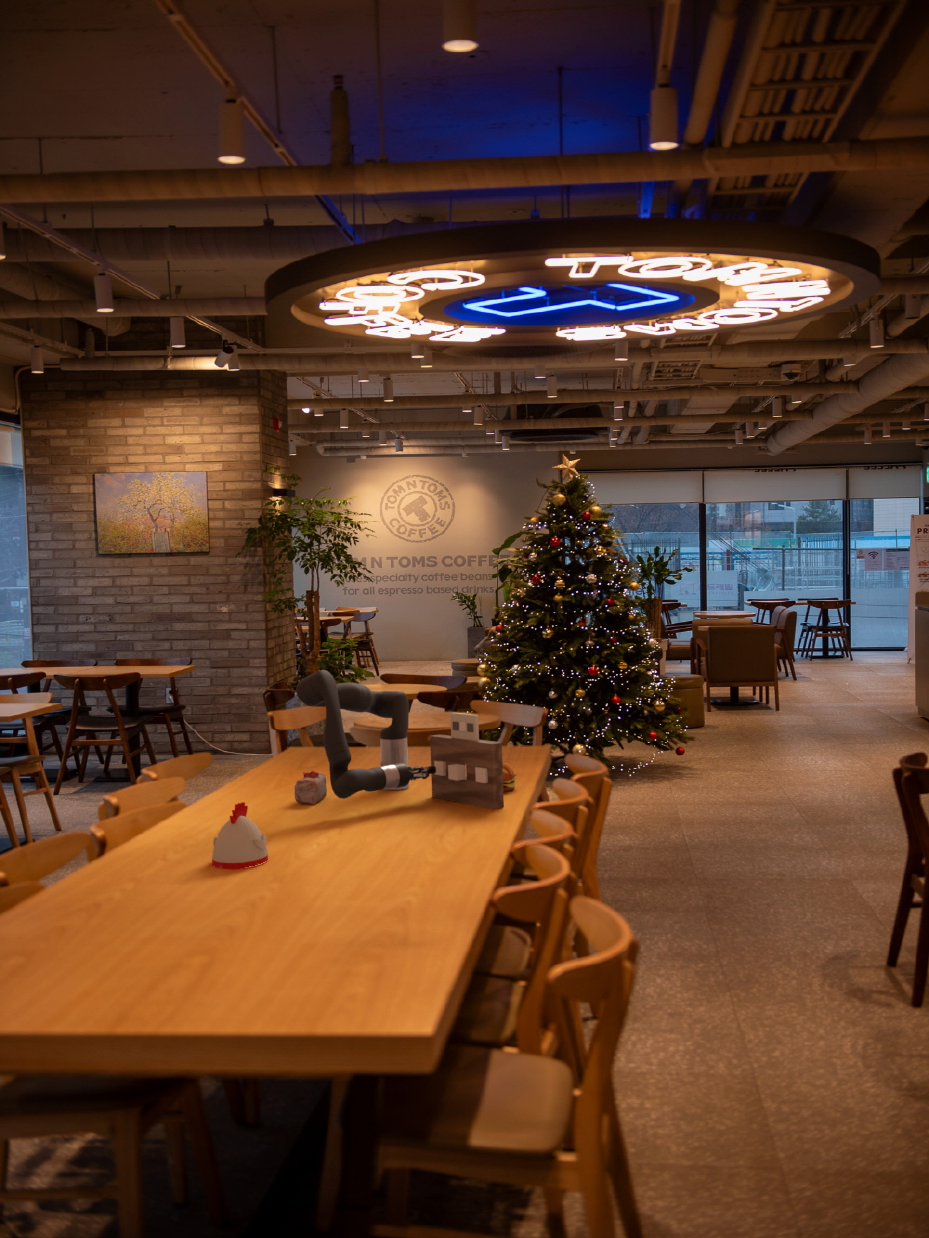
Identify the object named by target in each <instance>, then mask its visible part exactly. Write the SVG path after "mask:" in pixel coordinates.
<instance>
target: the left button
mask: <svg viewBox="0 0 929 1238" xmlns="http://www.w3.org/2000/svg"><path fill="white" fill-rule="evenodd" d="M434 766H435V767H436V773H435V775H441V776H446V761H442V760H436V761H434Z"/></svg>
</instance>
